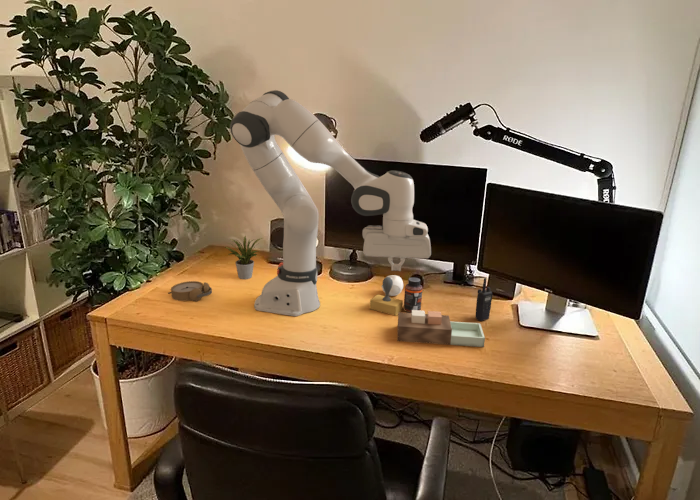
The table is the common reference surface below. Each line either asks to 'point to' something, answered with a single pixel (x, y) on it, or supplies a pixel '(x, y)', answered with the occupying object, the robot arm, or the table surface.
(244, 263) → the house plant
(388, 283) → the rubber stamp
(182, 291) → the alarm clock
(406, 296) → the supplement bottle
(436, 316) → the terracotta tile
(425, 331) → the dark wooden box
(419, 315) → the cream tile
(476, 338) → the tray
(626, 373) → the table surface
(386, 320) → the table surface
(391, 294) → the motion sensor
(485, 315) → the two-way radio
